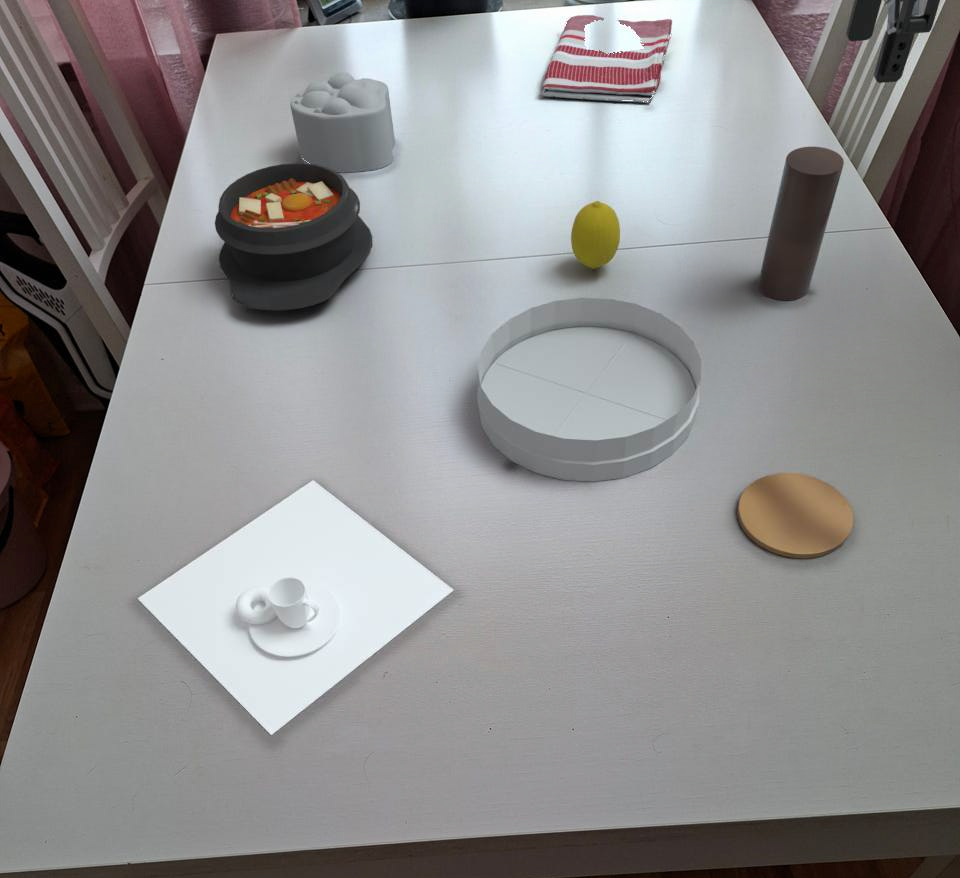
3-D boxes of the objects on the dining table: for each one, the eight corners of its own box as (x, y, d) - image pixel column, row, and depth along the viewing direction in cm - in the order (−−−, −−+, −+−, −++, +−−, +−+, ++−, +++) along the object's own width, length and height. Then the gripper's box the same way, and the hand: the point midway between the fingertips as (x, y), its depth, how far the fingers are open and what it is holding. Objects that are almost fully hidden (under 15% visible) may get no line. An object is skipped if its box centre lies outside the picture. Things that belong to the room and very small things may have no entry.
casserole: (363, 322, 101) (351, 254, 94) (203, 327, 102) (179, 259, 95) (384, 204, 115) (374, 137, 108) (243, 210, 116) (225, 143, 109)
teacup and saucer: (226, 618, 77) (212, 588, 74) (299, 566, 80) (288, 536, 77) (287, 676, 73) (275, 648, 70) (361, 619, 76) (353, 590, 73)
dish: (730, 373, 92) (739, 332, 88) (640, 511, 82) (645, 472, 78) (541, 316, 99) (541, 275, 95) (437, 436, 89) (432, 396, 85)
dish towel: (672, 35, 139) (674, 15, 137) (654, 105, 126) (656, 85, 124) (566, 31, 142) (566, 12, 140) (538, 99, 129) (538, 79, 127)
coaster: (782, 461, 84) (783, 456, 84) (874, 516, 80) (876, 511, 79) (714, 516, 81) (715, 512, 80) (806, 576, 76) (808, 572, 76)
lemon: (566, 280, 103) (568, 213, 97) (574, 253, 106) (577, 187, 100) (613, 284, 102) (618, 217, 96) (620, 257, 105) (626, 190, 99)
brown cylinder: (778, 265, 103) (808, 140, 91) (819, 285, 100) (855, 158, 89) (747, 286, 101) (774, 161, 89) (788, 307, 98) (821, 180, 87)
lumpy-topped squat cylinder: (391, 170, 120) (382, 101, 113) (296, 175, 120) (281, 107, 113) (396, 132, 126) (387, 65, 119) (305, 137, 126) (292, 70, 119)
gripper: (1027, -160, 62) (941, 92, 75) (956, -213, 70) (889, 23, 83) (918, -151, 62) (851, 99, 75) (860, -205, 70) (808, 29, 83)
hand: (871, 59), depth 79 cm, fingers open, 8 cm apart
